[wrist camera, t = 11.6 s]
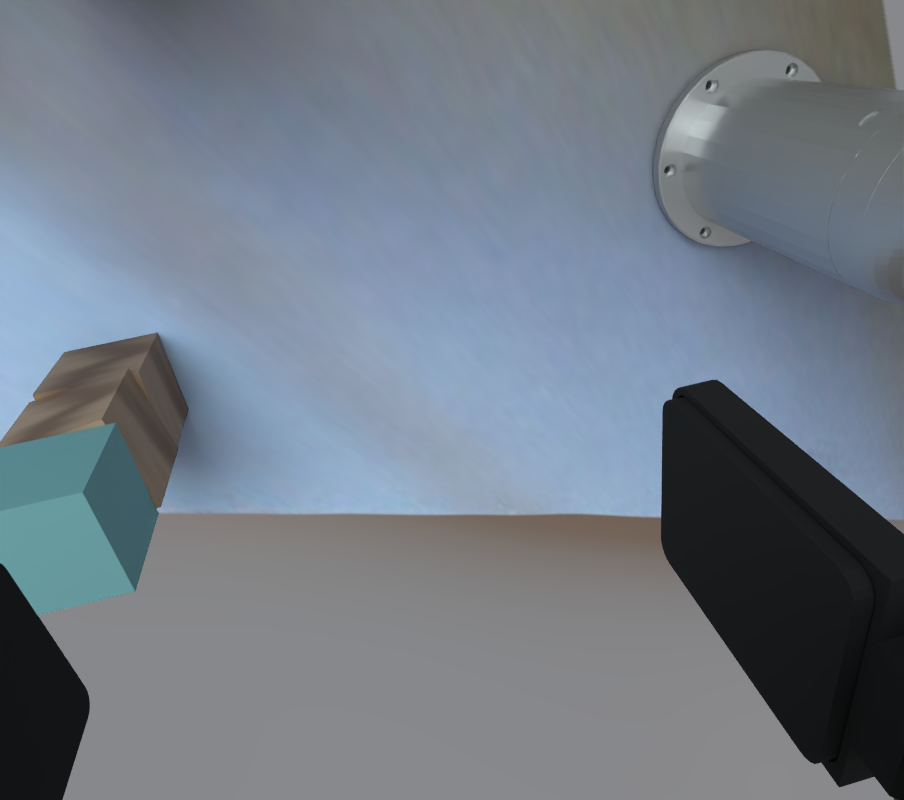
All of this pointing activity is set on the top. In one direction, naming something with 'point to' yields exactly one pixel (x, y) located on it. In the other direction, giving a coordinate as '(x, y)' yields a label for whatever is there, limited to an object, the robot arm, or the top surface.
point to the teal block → (73, 518)
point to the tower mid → (105, 423)
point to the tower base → (109, 358)
